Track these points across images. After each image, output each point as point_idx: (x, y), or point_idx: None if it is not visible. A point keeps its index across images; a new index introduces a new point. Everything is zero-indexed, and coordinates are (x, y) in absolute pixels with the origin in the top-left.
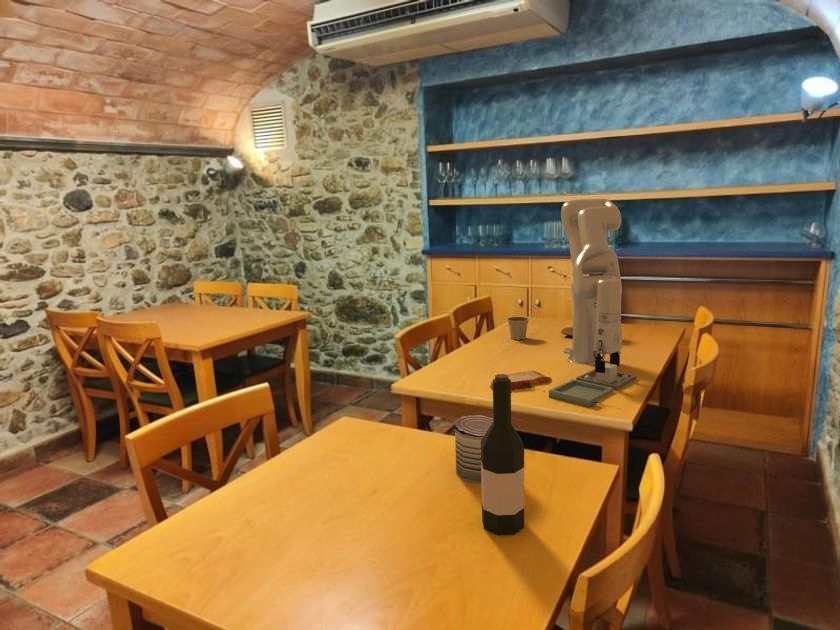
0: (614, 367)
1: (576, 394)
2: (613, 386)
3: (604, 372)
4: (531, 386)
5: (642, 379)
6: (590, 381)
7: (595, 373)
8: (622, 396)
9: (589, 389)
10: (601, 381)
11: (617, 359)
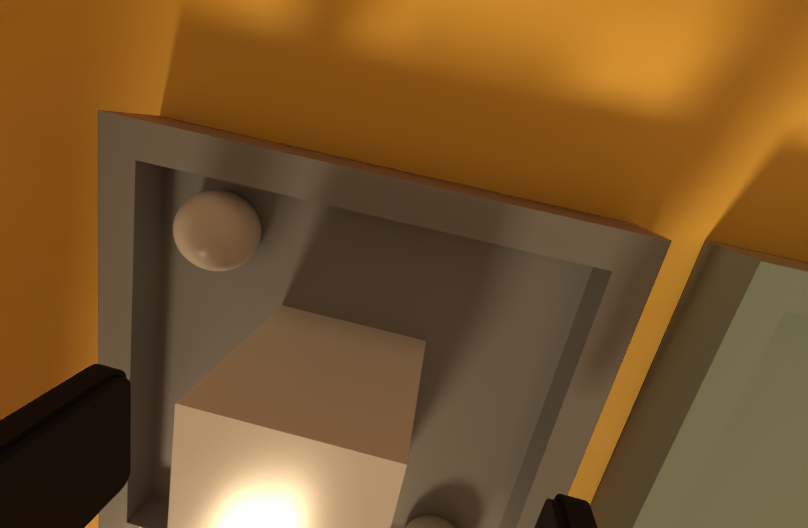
0: (274, 416)
1: None
2: (649, 276)
3: (580, 501)
4: None
5: (43, 77)
6: None
7: None
8: (727, 131)
9: (721, 480)
10: None
11: (16, 468)
